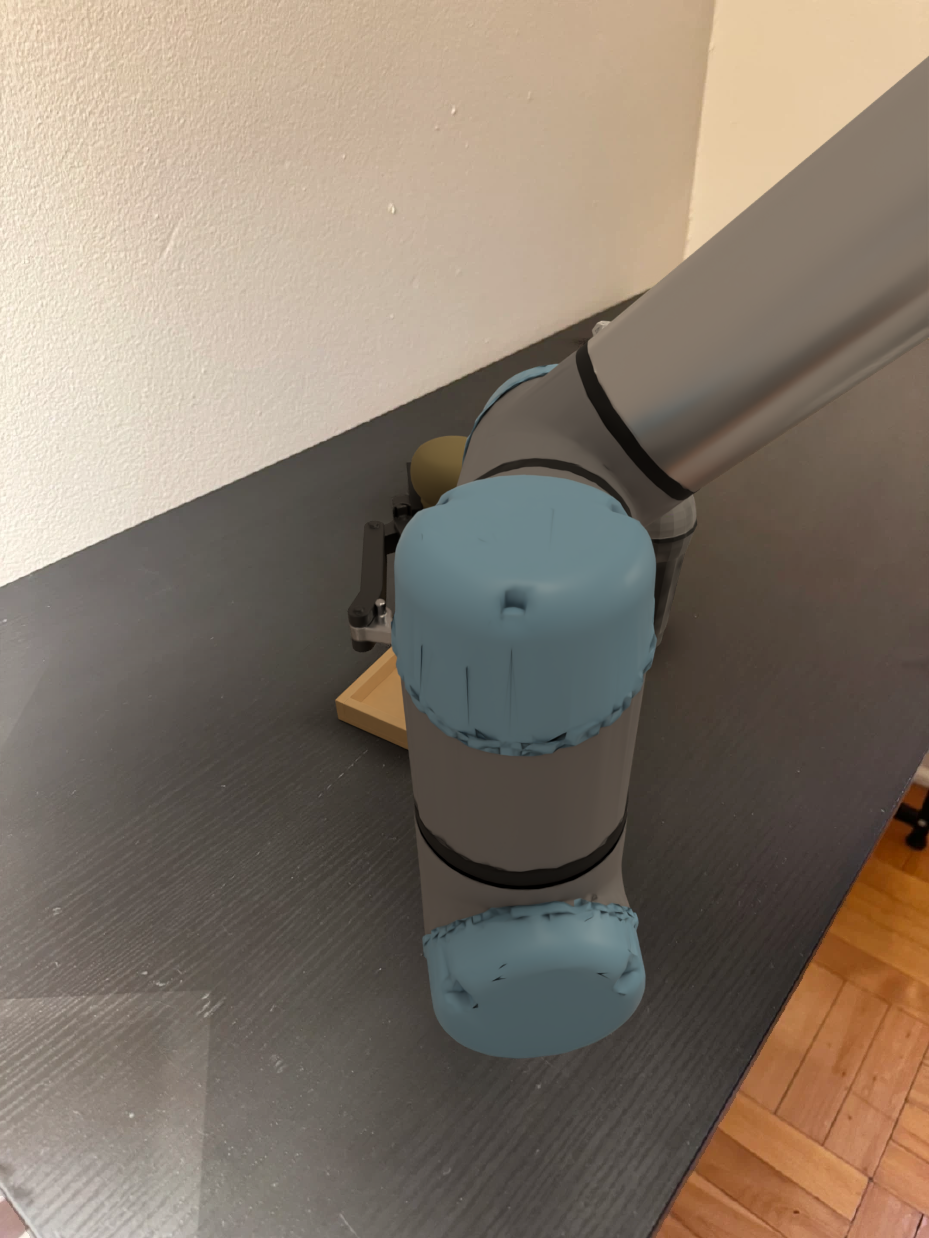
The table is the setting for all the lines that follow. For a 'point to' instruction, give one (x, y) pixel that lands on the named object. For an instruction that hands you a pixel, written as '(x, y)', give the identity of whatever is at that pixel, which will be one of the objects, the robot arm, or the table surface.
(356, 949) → the table surface
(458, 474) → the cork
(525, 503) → the robot arm
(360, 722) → the serving tray
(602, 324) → the game die
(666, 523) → the beverage cup
